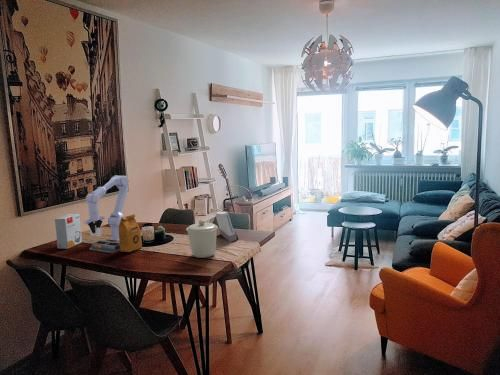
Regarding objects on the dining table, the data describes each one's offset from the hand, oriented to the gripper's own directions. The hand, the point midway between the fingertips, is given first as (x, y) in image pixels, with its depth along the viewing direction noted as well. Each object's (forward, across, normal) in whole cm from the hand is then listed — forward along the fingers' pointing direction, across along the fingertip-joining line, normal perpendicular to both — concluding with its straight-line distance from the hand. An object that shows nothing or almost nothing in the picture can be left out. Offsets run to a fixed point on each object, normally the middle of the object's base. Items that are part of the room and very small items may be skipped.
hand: (96, 232), depth 251 cm
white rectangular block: (+2, 0, 0) cm, 2 cm away
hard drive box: (+9, +6, -19) cm, 22 cm away
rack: (+9, +2, +12) cm, 15 cm away
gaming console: (+9, -46, +72) cm, 86 cm away
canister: (+9, -9, +78) cm, 79 cm away
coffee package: (+9, -1, +29) cm, 31 cm away
